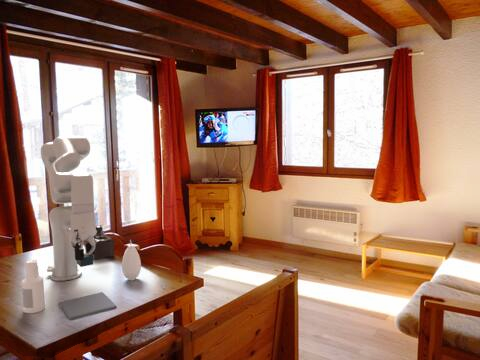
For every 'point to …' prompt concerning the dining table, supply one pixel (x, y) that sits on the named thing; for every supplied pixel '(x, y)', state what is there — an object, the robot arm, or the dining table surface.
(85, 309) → the mat
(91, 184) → the robot arm
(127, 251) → the white eggplant
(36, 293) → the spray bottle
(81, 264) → the watch
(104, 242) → the coffee grinder
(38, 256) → the dining table surface
